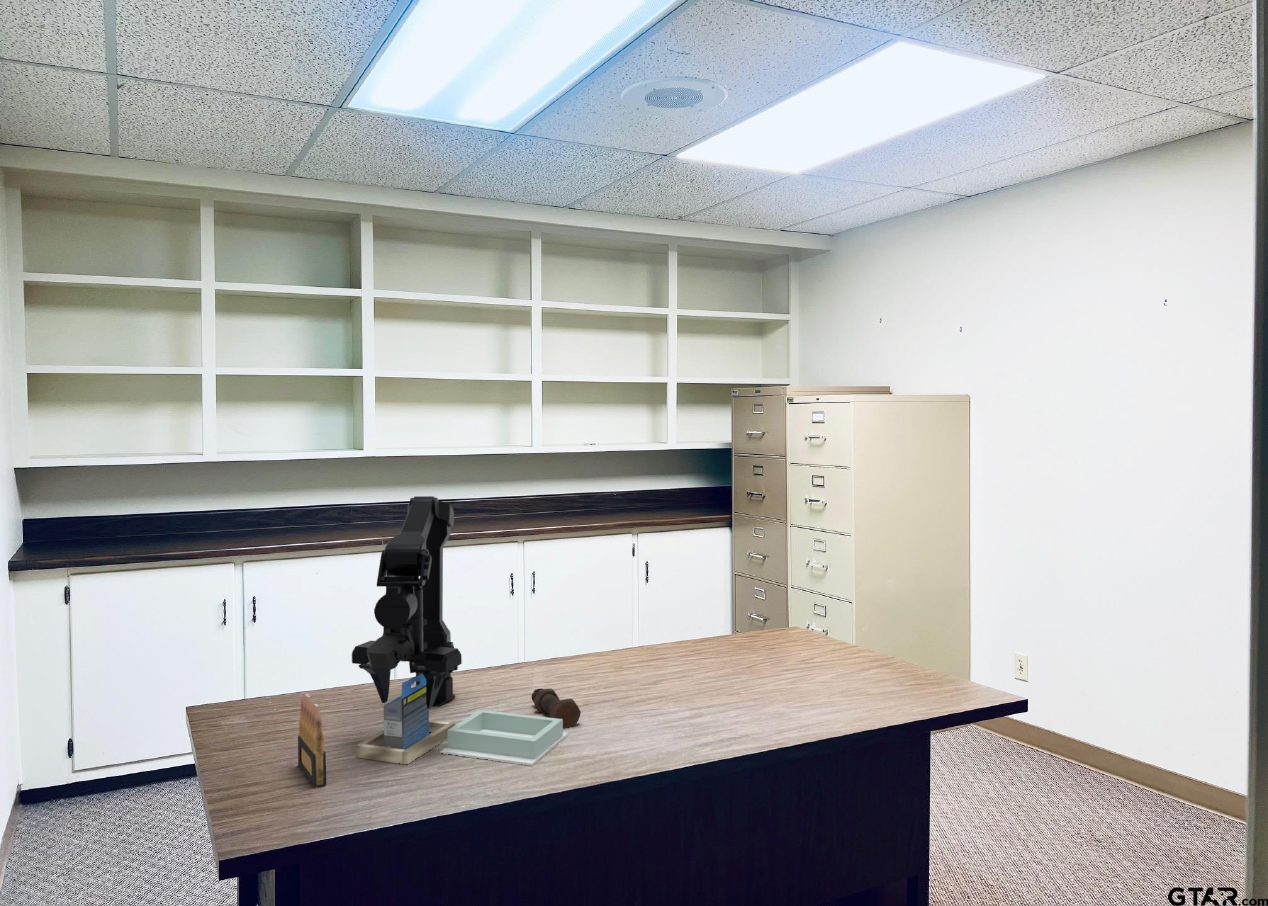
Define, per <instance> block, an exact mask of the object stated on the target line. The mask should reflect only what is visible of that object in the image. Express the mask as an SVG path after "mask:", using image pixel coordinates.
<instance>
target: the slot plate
mask: <svg viewBox="0 0 1268 906" xmlns="http://www.w3.org/2000/svg"><path fill="white" fill-rule="evenodd" d="M563 730H564V729H563V719H556V718H551V717H549V716H548V717H547V716H537V715H528V714H520V713H512V712H504V711H503V712H502V711H494V710H485V709H478V710H476V712H474V713H473V714H471V715H470V716H468V717H466V718H465V719H463V720H462V721H459V722H458V723H457V724H455V726H454V727H452V728H450V729H449V730H447V732H448V739H447V746H446V747H445V748H443V749H442V750H440V754H441V753H443V754H442V755H448V754H452V755H451V756H455V755H458V756H457V757H462V756H465V757H464V758H471V759H477V758H479V759H478V760H484V759H488V760H487V761H492V760H493V761H494V762H499V761H500V762H501V763H507V764H516V765H521V764H522V765H524V766H529V767H533V766H534V765H535V764H536V763H537V762H538V761H541V759H542V758H543V757H544V756H546V755H547V754H548V753H549V752H550V751H551V750H552V749H554V748H555V747H557V745H559V744H560V743H561V742H562V741H563V740H564V739H566V737H568V736H569V732H567V731H566V732H565V731H563Z"/></svg>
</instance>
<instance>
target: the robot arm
mask: <svg viewBox="0 0 1268 906" xmlns="http://www.w3.org/2000/svg"><path fill="white" fill-rule="evenodd" d="M406 514H407V515H406V517H405V520H404V523H403V525H402V527H401V531H400V532H399V534H398V535H395V536H393V537H391V538H390V539H389V540H388V542H386V543H387V544H386V545H385V548H384V549H383V550H382V551H381V553H380V558H379V566H378V574H377V579H376V587H380V588H381V587H382V588H383V587H385V594H384V595H382V596H381V597H380V598H379V599H378V600H377V602H376V603H375V606H374V609H373V611H374V618H375V620H376V622H377V623H378V624H379V625H380V626H382V628H383V630H382V631H383V633H382V635H381V636H380V637H379V638H377V639H376V640H368V641H366V642H364V643H361V644H358V645H356V646H354V647H353V649H352V652H351V664H354V665H358V668H359V669H362V670H364V671H366V673H368V674H369V675H370V678H371V679H372V680H373V681H372V682H373V683H374V685H375V688H376V692H377V694H378V696H379V698H380V701H381V704H387V703H388V700H389V696H390V695H389V694H390V687H391V686H390V684H391V683H390V682H391V670H395V669H396V668H397V667H398V664H399V663H400V662H408V665H409V666H408V667H409V674H414V673H415V676H417V675H419V674H421V673H422V674H423V675H424V677H425V678H426V704H427V708H429V709H431V708H432V707H433V706H435V707H439V706H442V705H444V704H446V703H448V701H451V700H452V698H453V699H454V698H456V694H454V687H453V686H454V685H453V684H454V681H453V680H454V679H453V677H452V673H453V672H454V671H458V670H459V666H460V665H462V661H463V660H462V652H461V651H460V650H459V649H458V647H455V645H454V642H453V641H451V639H452V637H451V631H450V629H449V628H448V626H447V624H446V623H445V621H444V619H443V615H444V614H443V613H444V611H443V606H444V605H443V603H444V601H443V595H444V592H443V590H444V588H443V587H444V586H443V585H444V584H443V583H444V579H443V578H444V576H443V575H444V574H443V571H444V570H443V569H444V546H445V545H446V543H447V541H448V540H449V538H450V537H451V534H452V527H453V528H454V526H455V525H454V524H455V511H454V509H453V507H452V505H451V504H450V503H447V502H445V501H441V500H439V498H438V497H435V496H432V495H431V496H430V495H429V496H426V495H425V496H423V495H421V496H419V495H418V496H413V497H410V499H409V503H408V504H407V513H406ZM419 683H420V681H418V682H416V681H415V686H417V685H418V684H419Z"/></svg>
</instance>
